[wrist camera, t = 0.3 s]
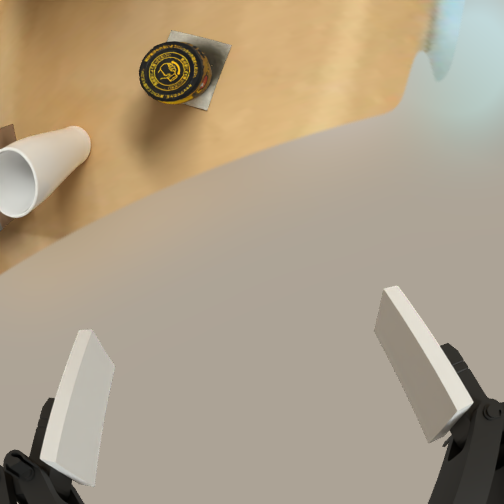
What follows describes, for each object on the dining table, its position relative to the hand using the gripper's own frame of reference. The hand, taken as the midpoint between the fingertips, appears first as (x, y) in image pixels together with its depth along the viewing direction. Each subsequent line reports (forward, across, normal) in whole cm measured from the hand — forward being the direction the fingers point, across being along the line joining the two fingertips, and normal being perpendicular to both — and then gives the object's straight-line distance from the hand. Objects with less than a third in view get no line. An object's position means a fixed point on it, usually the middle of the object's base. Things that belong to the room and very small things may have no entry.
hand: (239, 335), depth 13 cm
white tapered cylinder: (+28, -18, +6) cm, 34 cm away
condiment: (+28, -2, +12) cm, 31 cm away
